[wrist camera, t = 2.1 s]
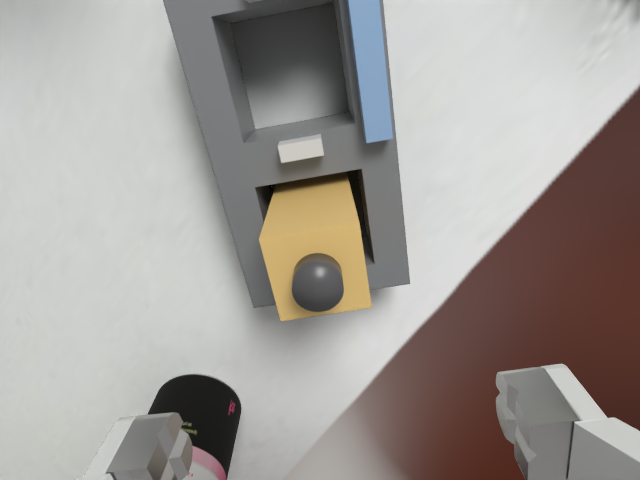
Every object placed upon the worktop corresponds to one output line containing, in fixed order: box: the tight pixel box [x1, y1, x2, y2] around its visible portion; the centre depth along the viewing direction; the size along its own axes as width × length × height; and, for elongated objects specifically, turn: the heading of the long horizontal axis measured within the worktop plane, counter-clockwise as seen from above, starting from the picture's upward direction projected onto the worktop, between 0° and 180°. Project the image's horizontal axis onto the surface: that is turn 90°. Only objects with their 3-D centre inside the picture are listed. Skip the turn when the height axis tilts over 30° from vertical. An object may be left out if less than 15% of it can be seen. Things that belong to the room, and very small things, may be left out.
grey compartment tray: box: [163, 0, 410, 308], centre depth 21 cm, size 9×16×5 cm, turn 10°
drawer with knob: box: [259, 172, 372, 321], centre depth 20 cm, size 4×4×10 cm
